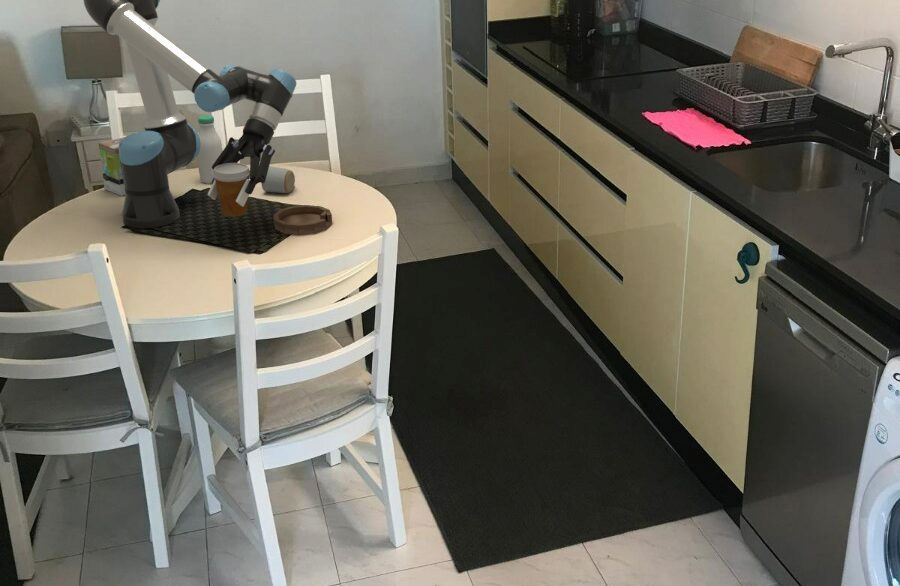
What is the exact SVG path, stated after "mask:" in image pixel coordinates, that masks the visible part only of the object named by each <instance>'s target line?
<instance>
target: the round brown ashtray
mask: <svg viewBox="0 0 900 586" xmlns="http://www.w3.org/2000/svg"><path fill="white" fill-rule="evenodd" d="M272 218H273V226H275V227H274V230H275V229H276V230H278V231H277V232H279V231H280V232H279V233H281V232H282V233H281V234H283V233H284V235H293V236H307V235H315V234H318V233H319V234H320V233H322V232H324V231H327V230H328V229H329V228H331V226H332V225H333V216H332V212H331V210H330V209H329V208H327V207H323V206H320V205H311V204H301V205H291V206H288V207H285V208H281V209H278V211H276V212H275V213H274V214H273V215H272ZM276 230H275V231H276Z"/></svg>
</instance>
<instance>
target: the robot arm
mask: <svg viewBox="0 0 900 586" xmlns="http://www.w3.org/2000/svg"><path fill="white" fill-rule="evenodd" d="M160 2H161V0H83V5H84V8H85V10H86V12H87V14H88V15H89V17H90V18H91V20H93V21H94V23H96V24H97V25H98V27H100V28H101V29H102V30H104V31H105V32H106V33H108V34H109V35H112V36H115V35H117V36H118V38H119V37H120V38H121V39H122V40H123V41H124V42H125V46H126V49H127V53H128V56H129V60H130V64H131V67H132V70H133V72H134V76H135V79H136V80H135V81H136V84H137V87H138V90H139V95H140V97H141V98H140V99H141V101H142V104H143V107H144V111H145V115H146V118H147V119H146V123H145V124H144V126H143V127H144V130H143V131H142V130H141V131H137V132H132V133H130V134H128V135H126V136H124V138H123V137H122V138H123V139H122V140H121V141H120V143H119V159H120V163H121V169H122V175H123V181H124V187H125V194H126V195H124V196H125V197H124V202H123V207H122V214H121V216H122V222H123V224H124V225H125V226H127V227H130V228H134V229H135V228H136V229H152V228H160V227H164V226H167V225H170V224H173V223H174V222H176V221H177V220H179V219H180V215H181V214H180V208H179V206H178V204H177V203H176V200H175V198H174V197H173V193H172V192H171V190H170V183H169V182H170V181H169V176H168V175H169V174H171V173H173V172H176V171H177V170H179V169H180V168H184V167H186V166H188V165H189V164H191V163H192V162H193V161H194V160H196V159H197V155H198V154H199V151H200V146H201V143H200V137H199V135H198V134H199V132H198V131H197V129H196V128H194V127H193V125H191V124H190V123H189V122H188V120H187V117H186V116H185V115H183V114H181V113H180V112H179V109H178V105H177V102H176V99H175V95H174V91H173V87H172V84H171V80H170V77H171V78H173V79H174V80H175V81H177V82H178V83H179V84H180V85H182V86H183V87H184V88H186V89H187V90H188V91H190V92H191V93H193V97H194V101H195V103H196V104H197V107H199V109H201V110H202V111H204V112H207V113H213V112H218V111H221V110H222V111H223V109H226V108H227V107H229V106H231V105H233V104H236V103H238V102H241V101H243V100H249V101H251V102H255V104H254V106H253V108H252V110H251V112H250V114H249V118H248V119H247V120H246V123H245V124H244V127H243V129H242V135H241V136H240V137H239V138H238V139H236V138H235V137H233V136H232V137H231V136H230V137H229V139H228V141H227V144H226V145H225V147H224V148H223V149H222V150H223V151H222V153H221V154H220V156H219V157H218V158H217V160H216V161H215V163H214V164H213V165H212V169H213V170H214V168H215V167H216V166H218V165H221V164H226V163H240V161H241V160H243V159H245V158H250V159H249V160H250V161H249V170H250V176H249V177H248V178H249V179H246V181H245V183H244V185H243V187H242V189H241V191H240V193H239V195H238V197H237V199H236V202H237V203H238V204H239V205H241V206H243V207H244V205H245V203H246V201H247V198H248V199H249V196H250V195H252V194H253V192H254V190H255V188H256V186H257V184H261V183H264V182H265V180H266V176H267V172H268V169H269V166H271V165H270V164H271V161H272V157H273V155H275V152H276V150H275V149H274V148H273V147H272V146H271V144H270V142H271V140H272V139H273V136H274V134H275V131H276V130H277V128H278V125H279V124H280V122H281V119H282V117H283V115H284V112H285V111H286V109H287V106H288V104H289V102H290V100H291V99H292V98H293V95H294V92H295V90H296V88H297V87H296V86H297V80H296V78H295V77H294V75H292V74H291V73H289V72H288V71H286V70H284V69H281V68H273V69H271V70H270V72H269V74H268V75H267V74H263V73H260V72H256V71H253V70H250V69H247V68H244V67H242V66H239V65H233V64H228V65H225V66H224V67H223V69H221V70H220V72H219V74H217V73H216V72H214V71H213V70H212V69H210V68H209V67H207V66H206V65H205V64H204V63H203V62H201V61H200V60H198V59H197V58H196V57H195V56H194V55H192V54H191V53H190V52H188V51H187V50H186V49H184V48H183V47H182V46H180V45H179V44H178V43H177V42H175V41H174V40H173V39H172V38H171V37H169V36H168V35H167V34H165V33H164V32H162V31H161V30H160V29H159V28H157V27H156V26H155V25H156V23H157V21H158V20H159V16H158V13H157V9H158V7H159V3H160ZM261 154H262V155H261ZM210 185H211V186H210V189H209V190H208V192H207V195H208V197H210V198H211V199H212V200H214V201H215V200H217V198H218V197H219V195H218V190H217V186H216V181H215V178H213V180H212V183H211V184H210Z"/></svg>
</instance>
